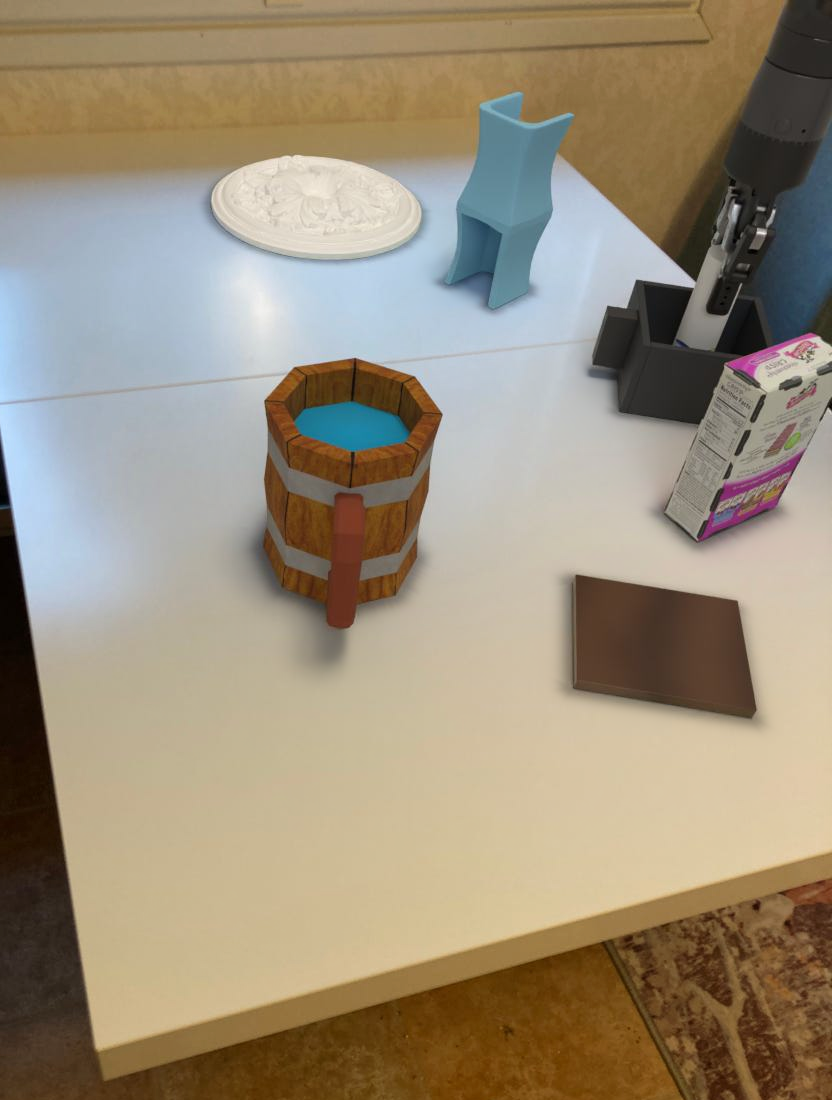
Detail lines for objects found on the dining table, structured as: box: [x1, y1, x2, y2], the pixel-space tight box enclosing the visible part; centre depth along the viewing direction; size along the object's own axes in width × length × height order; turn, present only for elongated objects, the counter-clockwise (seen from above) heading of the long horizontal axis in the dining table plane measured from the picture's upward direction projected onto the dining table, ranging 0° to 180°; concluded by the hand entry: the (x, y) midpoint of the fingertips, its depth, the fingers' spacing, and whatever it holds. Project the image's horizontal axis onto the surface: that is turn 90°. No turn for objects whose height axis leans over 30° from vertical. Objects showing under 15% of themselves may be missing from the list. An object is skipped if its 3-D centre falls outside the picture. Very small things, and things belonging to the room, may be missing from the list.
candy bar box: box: [663, 332, 832, 542], centre depth 83 cm, size 11×5×16 cm, turn 122°
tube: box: [673, 245, 743, 351], centre depth 97 cm, size 4×4×15 cm
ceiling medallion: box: [210, 154, 422, 261], centre depth 123 cm, size 28×28×3 cm
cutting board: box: [572, 574, 758, 718], centre depth 76 cm, size 14×12×1 cm
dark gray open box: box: [591, 278, 775, 425], centre depth 100 cm, size 17×14×8 cm
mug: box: [262, 357, 444, 630], centre depth 73 cm, size 20×14×15 cm
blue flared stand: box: [444, 91, 576, 310], centre depth 107 cm, size 8×8×20 cm
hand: (712, 298), depth 95 cm, fingers open, 5 cm apart
